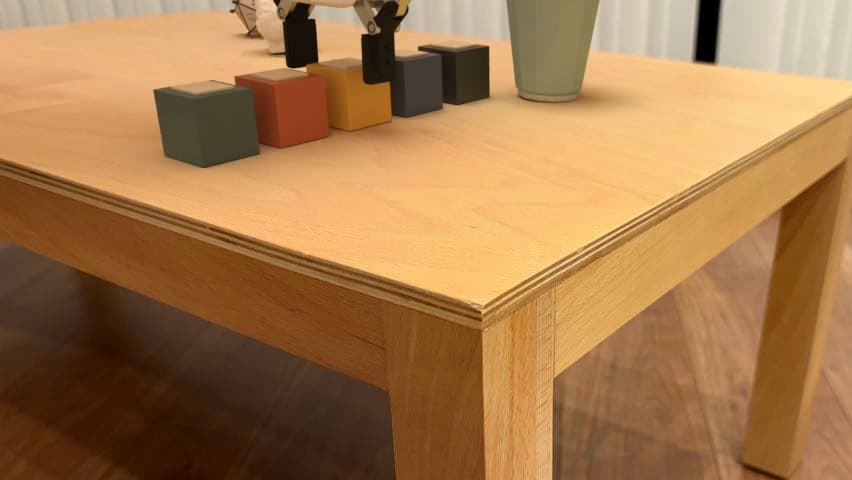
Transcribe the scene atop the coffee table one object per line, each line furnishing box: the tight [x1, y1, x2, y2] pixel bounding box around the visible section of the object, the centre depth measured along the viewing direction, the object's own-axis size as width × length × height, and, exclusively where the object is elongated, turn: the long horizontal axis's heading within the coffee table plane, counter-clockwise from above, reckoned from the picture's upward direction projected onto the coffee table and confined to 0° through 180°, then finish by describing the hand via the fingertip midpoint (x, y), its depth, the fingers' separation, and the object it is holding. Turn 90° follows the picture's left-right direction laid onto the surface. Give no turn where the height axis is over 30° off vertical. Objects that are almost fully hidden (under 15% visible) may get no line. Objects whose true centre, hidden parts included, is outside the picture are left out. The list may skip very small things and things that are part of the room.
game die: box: [228, 0, 259, 39], centre depth 119 cm, size 9×8×10 cm
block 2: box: [233, 67, 330, 149], centre depth 70 cm, size 5×5×5 cm
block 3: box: [390, 48, 444, 118], centre depth 80 cm, size 5×5×5 cm
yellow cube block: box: [305, 57, 393, 132], centre depth 75 cm, size 5×5×5 cm
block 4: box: [417, 40, 491, 106], centre depth 85 cm, size 5×5×5 cm
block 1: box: [152, 79, 261, 168], centre depth 65 cm, size 5×5×5 cm
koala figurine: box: [254, 0, 285, 54], centre depth 106 cm, size 8×7×12 cm
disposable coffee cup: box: [505, 0, 601, 103], centre depth 85 cm, size 11×11×15 cm
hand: (339, 74), depth 74 cm, fingers open, 9 cm apart
